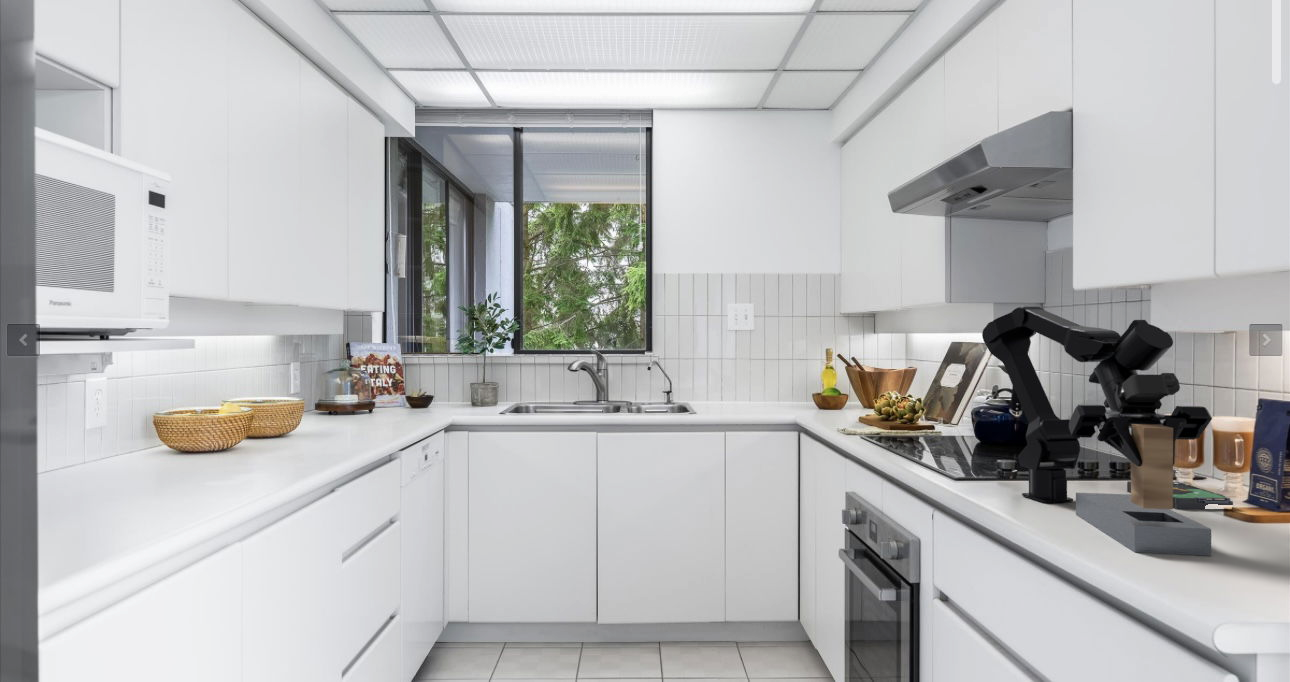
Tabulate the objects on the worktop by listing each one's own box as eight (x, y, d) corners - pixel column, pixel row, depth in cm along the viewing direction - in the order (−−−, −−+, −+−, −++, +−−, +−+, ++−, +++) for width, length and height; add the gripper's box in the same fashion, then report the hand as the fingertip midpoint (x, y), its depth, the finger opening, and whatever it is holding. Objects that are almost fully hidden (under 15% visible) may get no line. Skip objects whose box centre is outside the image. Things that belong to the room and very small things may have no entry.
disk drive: (1125, 494, 143) (1176, 512, 128) (1125, 481, 143) (1176, 496, 128) (1177, 494, 142) (1235, 512, 128) (1177, 481, 142) (1235, 497, 128)
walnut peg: (1130, 501, 111) (1131, 424, 111) (1159, 503, 110) (1159, 424, 110) (1143, 508, 107) (1143, 427, 107) (1172, 509, 106) (1173, 428, 106)
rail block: (1075, 514, 125) (1075, 492, 125) (1138, 517, 123) (1138, 494, 123) (1134, 552, 104) (1134, 525, 104) (1211, 556, 102) (1211, 528, 102)
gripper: (1075, 355, 114) (1104, 432, 103) (1205, 355, 110) (1249, 435, 100) (1057, 399, 122) (1083, 474, 111) (1178, 400, 118) (1216, 478, 107)
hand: (1155, 465), depth 107 cm, fingers closed on walnut peg, 4 cm apart
